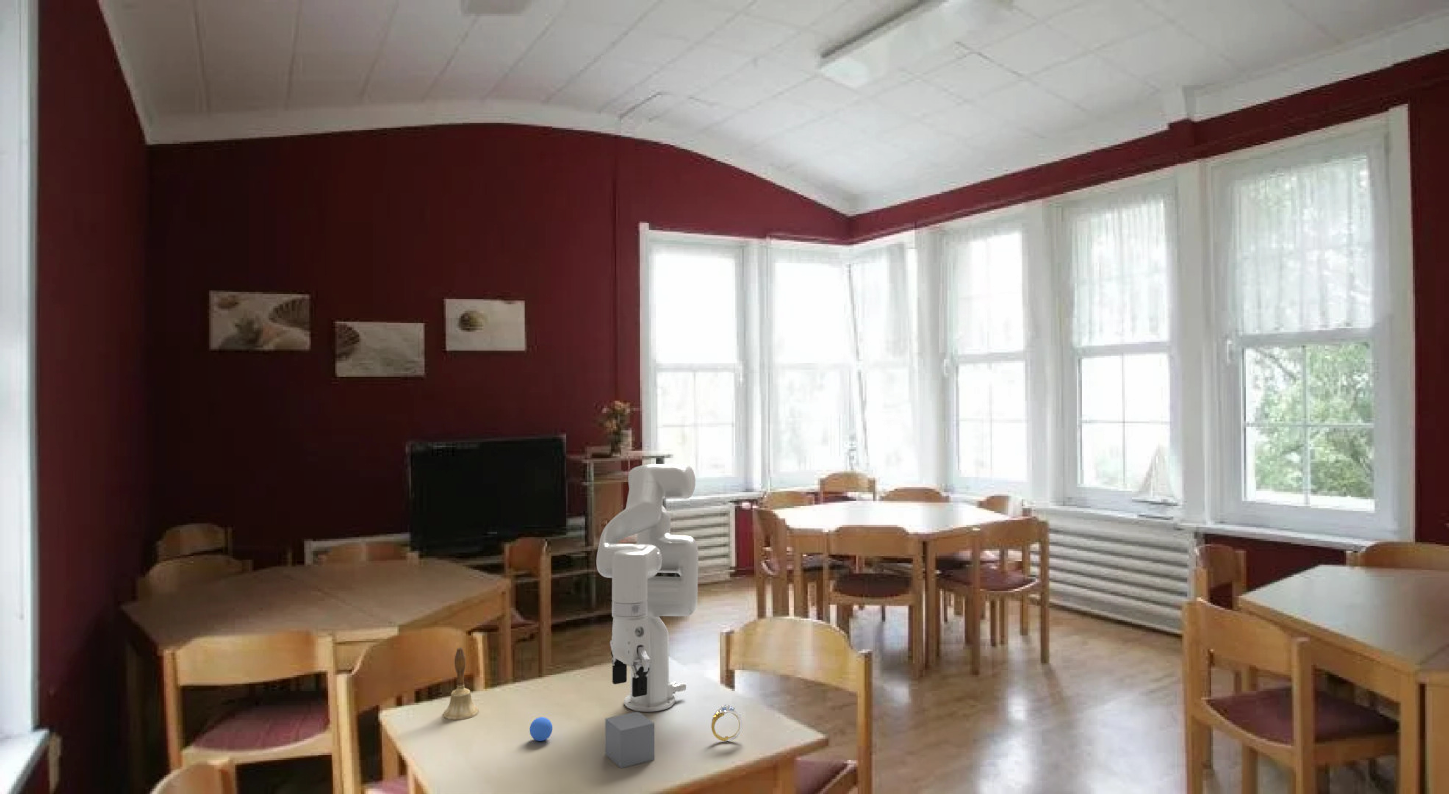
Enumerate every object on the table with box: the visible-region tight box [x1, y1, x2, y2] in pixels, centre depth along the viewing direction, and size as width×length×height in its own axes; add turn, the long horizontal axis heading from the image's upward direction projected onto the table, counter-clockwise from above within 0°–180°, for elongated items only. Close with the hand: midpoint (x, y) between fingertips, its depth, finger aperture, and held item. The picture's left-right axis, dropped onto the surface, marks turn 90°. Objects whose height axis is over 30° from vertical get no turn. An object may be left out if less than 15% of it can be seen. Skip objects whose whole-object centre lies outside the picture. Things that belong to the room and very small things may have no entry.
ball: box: [529, 716, 553, 742], centre depth 192 cm, size 5×5×5 cm
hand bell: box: [442, 647, 479, 721], centre depth 208 cm, size 8×8×16 cm
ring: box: [710, 704, 743, 742], centre depth 191 cm, size 7×3×8 cm, turn 92°
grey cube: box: [604, 711, 655, 769], centre depth 183 cm, size 8×8×8 cm
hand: (629, 689), depth 182 cm, fingers open, 9 cm apart
